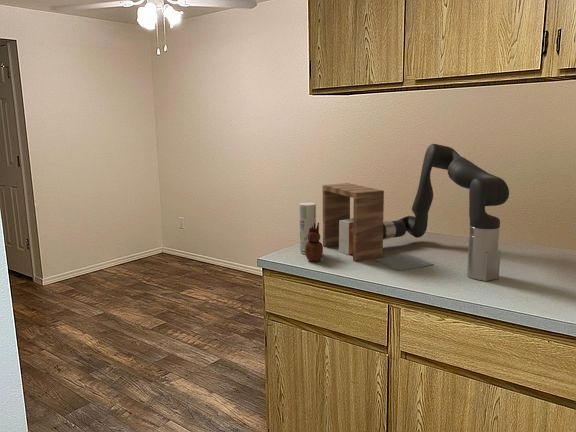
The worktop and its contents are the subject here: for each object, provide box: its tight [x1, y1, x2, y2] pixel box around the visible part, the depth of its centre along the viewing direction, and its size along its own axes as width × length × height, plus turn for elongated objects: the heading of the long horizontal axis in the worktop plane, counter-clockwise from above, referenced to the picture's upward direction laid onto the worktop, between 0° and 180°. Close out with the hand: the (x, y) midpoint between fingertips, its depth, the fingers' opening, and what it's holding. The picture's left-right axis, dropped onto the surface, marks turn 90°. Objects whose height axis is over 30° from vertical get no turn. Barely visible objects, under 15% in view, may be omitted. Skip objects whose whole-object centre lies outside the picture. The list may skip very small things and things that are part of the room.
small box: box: [338, 217, 353, 256], centre depth 197 cm, size 8×6×13 cm
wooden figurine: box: [304, 221, 324, 263], centre depth 186 cm, size 7×6×15 cm
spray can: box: [299, 201, 317, 256], centre depth 196 cm, size 6×6×20 cm
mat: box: [374, 253, 434, 272], centre depth 182 cm, size 15×15×1 cm
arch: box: [322, 182, 385, 263], centre depth 196 cm, size 26×12×26 cm, turn 24°
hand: (348, 235), depth 196 cm, fingers open, 8 cm apart
